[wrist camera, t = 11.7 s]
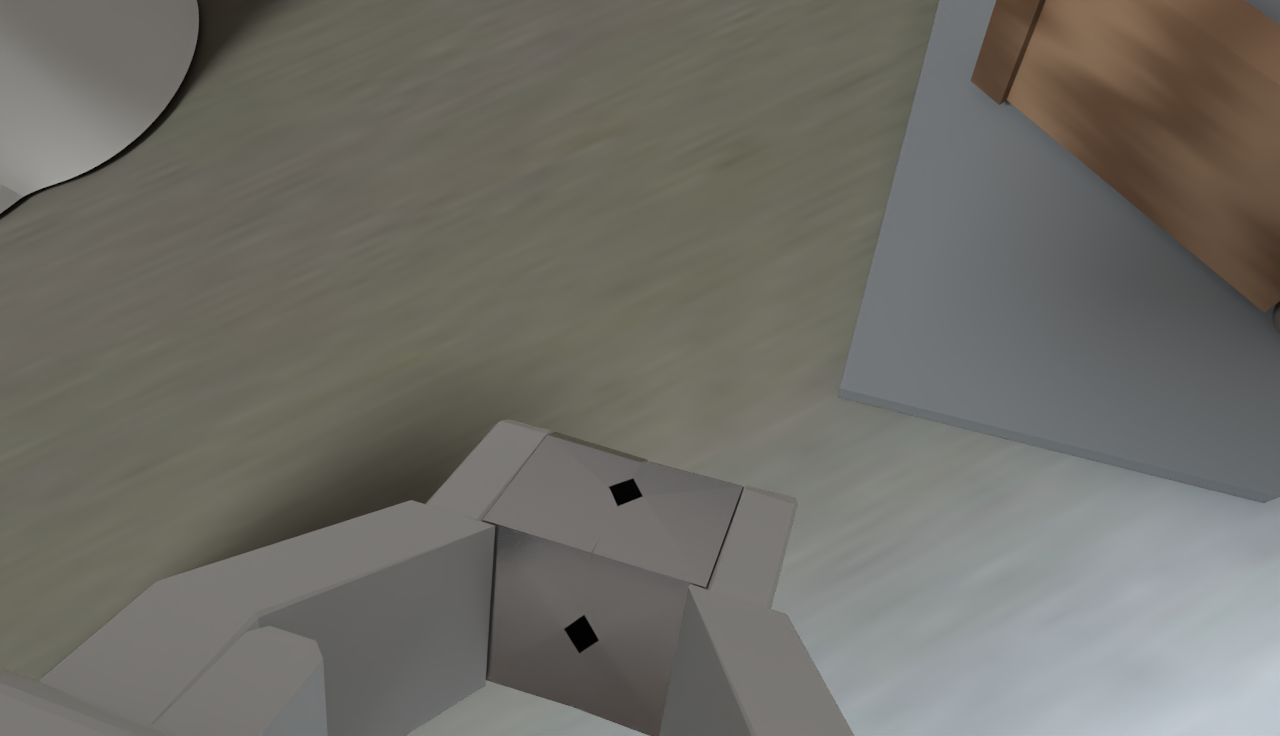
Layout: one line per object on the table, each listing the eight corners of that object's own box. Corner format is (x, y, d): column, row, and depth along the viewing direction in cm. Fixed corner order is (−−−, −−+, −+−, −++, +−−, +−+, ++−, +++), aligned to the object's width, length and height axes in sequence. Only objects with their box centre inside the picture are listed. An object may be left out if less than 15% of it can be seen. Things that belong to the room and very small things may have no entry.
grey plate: (837, 397, 33) (839, 388, 32) (959, -77, 39) (964, -96, 38) (1263, 502, 30) (1279, 496, 29) (1323, -30, 36) (1337, -50, 35)
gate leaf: (970, 80, 35) (1028, -101, 27) (1013, 47, 35) (1083, -142, 27) (1308, 362, 30) (1504, 241, 22) (1356, 320, 30) (1566, 186, 22)
